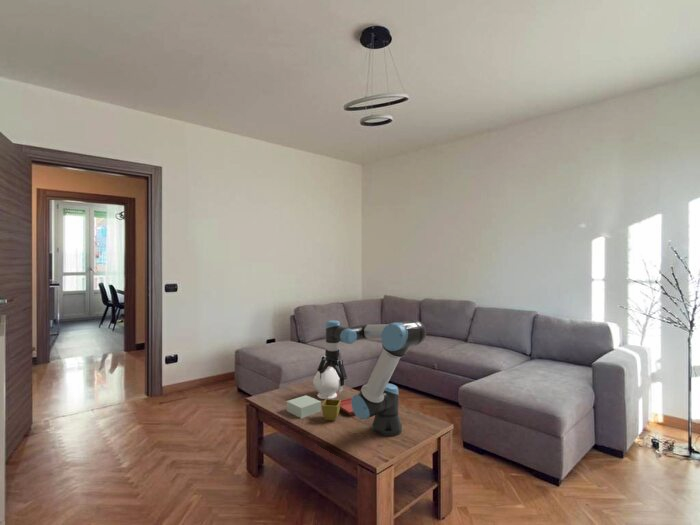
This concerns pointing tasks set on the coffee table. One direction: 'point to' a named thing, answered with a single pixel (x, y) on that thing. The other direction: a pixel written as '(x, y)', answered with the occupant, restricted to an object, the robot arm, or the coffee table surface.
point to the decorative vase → (327, 383)
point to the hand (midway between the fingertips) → (331, 388)
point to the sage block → (303, 406)
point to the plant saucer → (347, 406)
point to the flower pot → (331, 409)
